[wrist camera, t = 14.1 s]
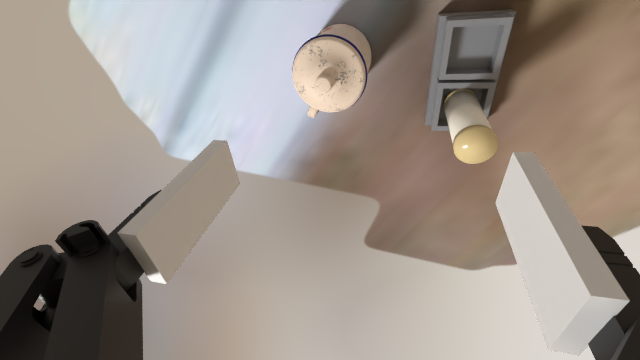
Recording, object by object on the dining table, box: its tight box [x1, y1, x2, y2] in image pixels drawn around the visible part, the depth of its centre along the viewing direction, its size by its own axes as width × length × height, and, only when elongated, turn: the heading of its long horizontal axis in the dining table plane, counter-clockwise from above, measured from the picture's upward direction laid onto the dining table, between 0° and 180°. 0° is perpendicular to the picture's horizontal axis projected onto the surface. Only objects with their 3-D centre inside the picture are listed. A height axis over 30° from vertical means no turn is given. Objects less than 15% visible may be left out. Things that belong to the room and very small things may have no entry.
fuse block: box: [424, 9, 516, 131], centre depth 38 cm, size 14×8×4 cm, turn 5°
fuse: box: [443, 88, 498, 164], centre depth 35 cm, size 4×4×12 cm
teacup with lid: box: [292, 24, 371, 118], centre depth 38 cm, size 12×9×12 cm
